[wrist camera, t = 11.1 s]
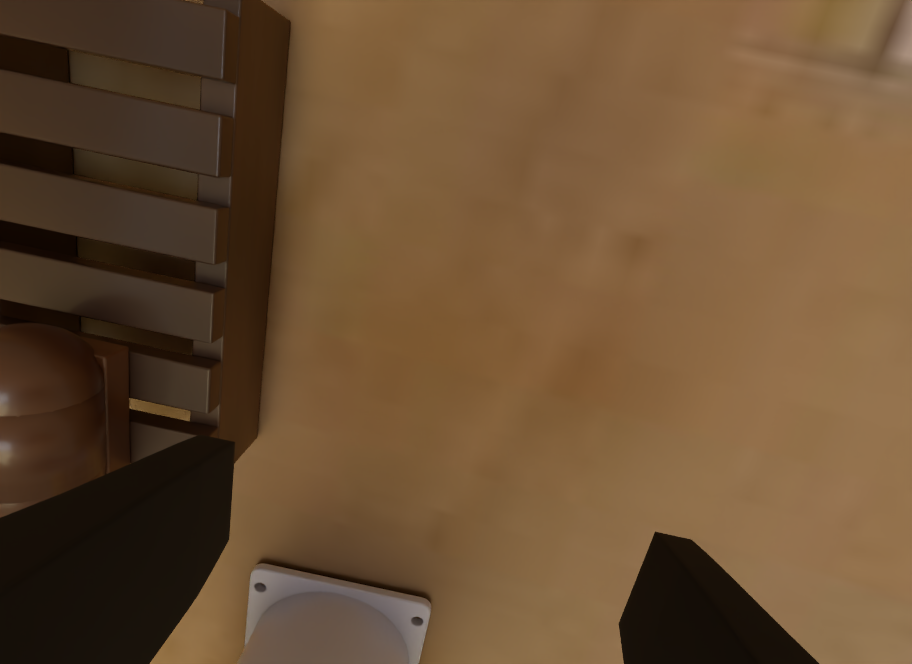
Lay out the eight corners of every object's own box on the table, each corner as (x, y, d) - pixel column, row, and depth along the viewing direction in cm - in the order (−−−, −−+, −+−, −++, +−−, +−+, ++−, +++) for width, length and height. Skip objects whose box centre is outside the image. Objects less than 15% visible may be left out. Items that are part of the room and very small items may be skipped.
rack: (257, 438, 20) (205, 497, 17) (60, 395, 20) (-37, 446, 17) (291, 21, 16) (228, -25, 12) (34, -33, 16) (-108, -95, 12)
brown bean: (134, 489, 17) (47, 567, 14) (34, 469, 17) (-75, 540, 14) (132, 321, 15) (31, 364, 12) (20, 297, 15) (-112, 334, 12)
